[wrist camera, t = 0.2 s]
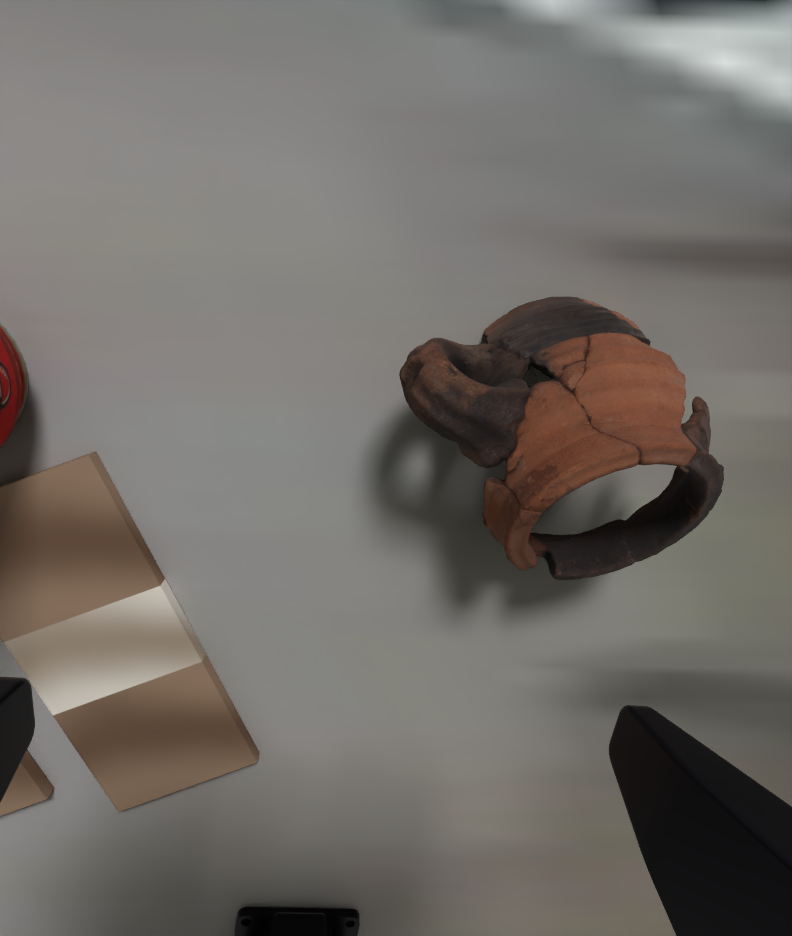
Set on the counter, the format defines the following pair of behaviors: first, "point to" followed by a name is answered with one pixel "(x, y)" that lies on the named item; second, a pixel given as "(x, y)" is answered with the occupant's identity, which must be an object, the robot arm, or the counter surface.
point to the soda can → (11, 384)
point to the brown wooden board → (110, 639)
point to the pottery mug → (568, 429)
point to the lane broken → (26, 787)
